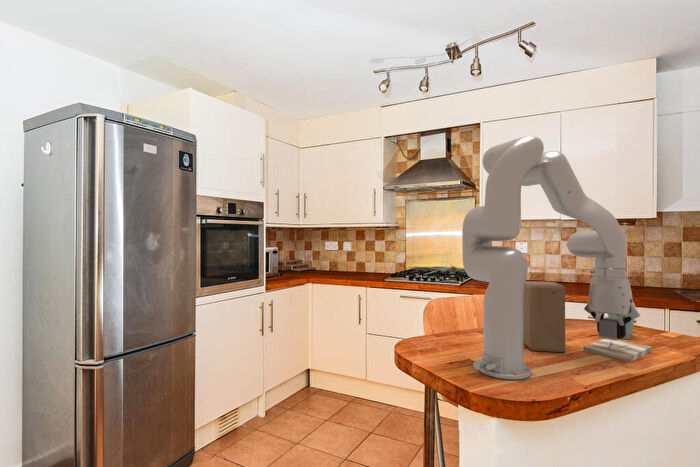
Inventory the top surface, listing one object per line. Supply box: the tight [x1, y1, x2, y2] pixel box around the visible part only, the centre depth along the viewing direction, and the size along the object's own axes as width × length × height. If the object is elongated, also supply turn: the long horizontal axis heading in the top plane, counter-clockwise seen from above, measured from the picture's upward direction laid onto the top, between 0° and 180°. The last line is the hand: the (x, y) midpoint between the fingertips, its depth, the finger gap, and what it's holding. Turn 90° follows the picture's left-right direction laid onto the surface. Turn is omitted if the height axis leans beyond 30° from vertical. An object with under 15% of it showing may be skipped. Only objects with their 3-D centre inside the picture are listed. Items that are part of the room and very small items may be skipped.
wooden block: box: [524, 280, 566, 353], centre depth 118 cm, size 10×10×20 cm
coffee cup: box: [607, 302, 637, 340], centre depth 131 cm, size 8×8×12 cm
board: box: [582, 338, 653, 363], centre depth 114 cm, size 16×12×2 cm
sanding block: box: [598, 317, 619, 341], centre depth 111 cm, size 6×4×5 cm, turn 126°
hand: (611, 336), depth 111 cm, fingers closed on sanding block, 4 cm apart
